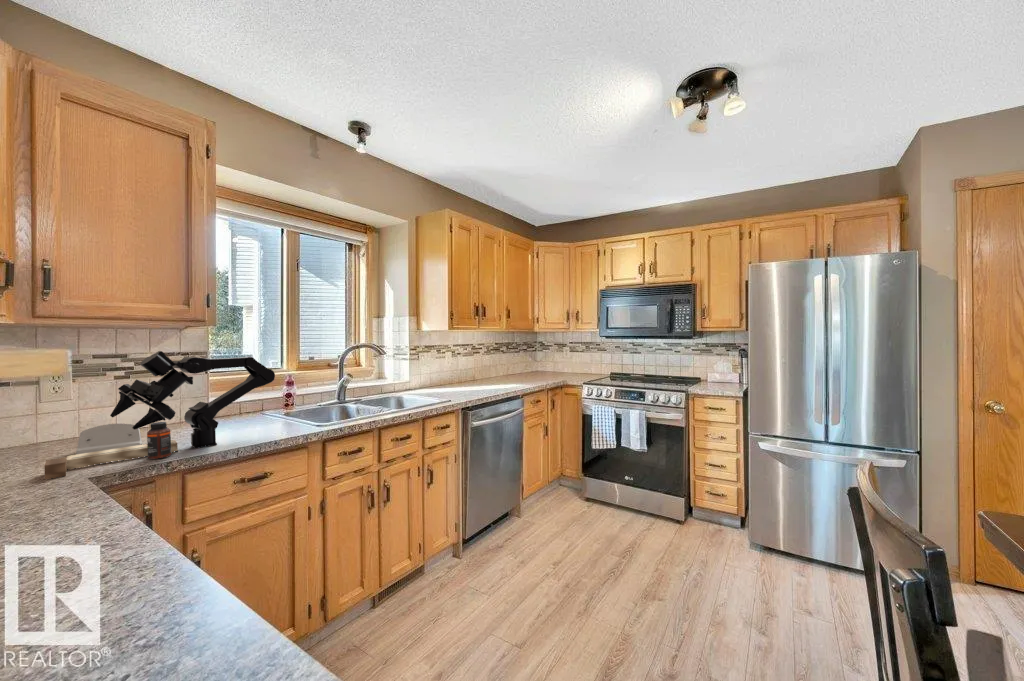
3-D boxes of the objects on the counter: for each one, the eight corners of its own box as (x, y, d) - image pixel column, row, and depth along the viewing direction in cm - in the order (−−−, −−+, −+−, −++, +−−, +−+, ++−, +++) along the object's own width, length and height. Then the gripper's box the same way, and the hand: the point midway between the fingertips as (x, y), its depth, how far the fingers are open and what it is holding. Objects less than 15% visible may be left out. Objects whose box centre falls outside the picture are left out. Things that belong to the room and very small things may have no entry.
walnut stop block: (66, 470, 124) (66, 457, 124) (65, 476, 120) (65, 462, 119) (46, 473, 122) (46, 460, 121) (44, 479, 117) (44, 465, 117)
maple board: (175, 448, 147) (174, 439, 147) (177, 451, 143) (177, 442, 143) (67, 465, 129) (67, 455, 129) (66, 470, 125) (66, 459, 125)
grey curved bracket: (74, 456, 138) (75, 426, 141) (77, 458, 142) (78, 428, 144) (141, 447, 149) (141, 419, 151) (142, 449, 152) (142, 421, 155)
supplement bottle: (175, 453, 141) (174, 420, 140) (164, 459, 135) (163, 424, 135) (154, 455, 139) (153, 421, 139) (143, 460, 134) (142, 425, 133)
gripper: (132, 361, 137) (83, 397, 127) (176, 384, 134) (129, 423, 124) (150, 379, 145) (106, 415, 136) (192, 401, 142) (150, 439, 133)
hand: (122, 422), depth 132 cm, fingers open, 9 cm apart
